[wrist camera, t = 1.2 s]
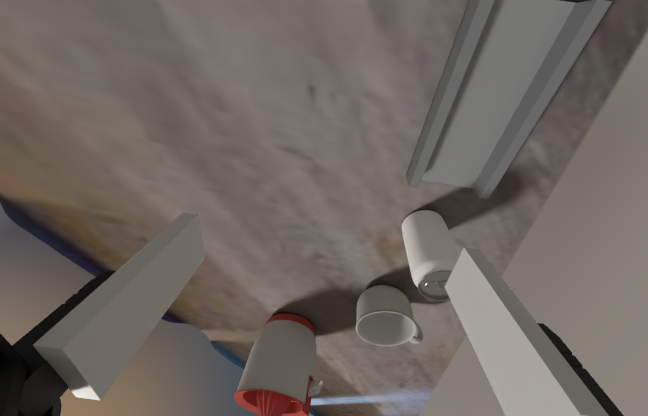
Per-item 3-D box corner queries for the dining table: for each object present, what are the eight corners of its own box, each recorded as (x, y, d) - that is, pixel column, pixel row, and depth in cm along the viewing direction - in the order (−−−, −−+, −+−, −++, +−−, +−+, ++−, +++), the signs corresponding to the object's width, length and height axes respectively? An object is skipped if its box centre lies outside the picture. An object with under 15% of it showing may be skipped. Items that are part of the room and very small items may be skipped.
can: (397, 213, 38) (409, 273, 29) (441, 204, 36) (470, 264, 27) (405, 242, 42) (418, 305, 32) (445, 235, 40) (473, 299, 30)
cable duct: (473, -11, 23) (486, -17, 20) (585, 5, 23) (612, 1, 20) (405, 175, 35) (409, 186, 32) (479, 188, 34) (488, 199, 32)
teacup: (345, 292, 52) (343, 329, 45) (384, 268, 46) (388, 306, 40) (391, 321, 56) (395, 358, 49) (431, 302, 50) (441, 342, 43)
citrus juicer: (329, 344, 65) (318, 445, 49) (267, 337, 67) (237, 432, 51) (327, 310, 56) (314, 421, 40) (256, 304, 58) (215, 406, 42)
